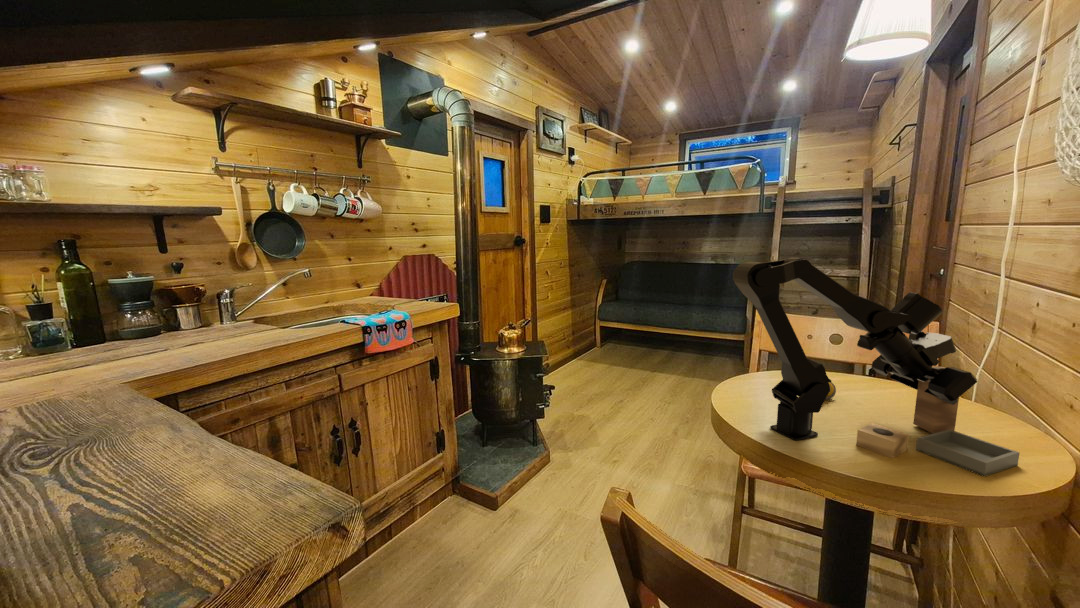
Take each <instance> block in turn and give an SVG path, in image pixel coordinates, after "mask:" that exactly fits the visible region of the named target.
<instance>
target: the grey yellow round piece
mask: <svg viewBox="0 0 1080 608" xmlns="http://www.w3.org/2000/svg"><path fill="white" fill-rule="evenodd" d="M828 383H829V385H830V392H829V393H828V396H827V397H826V399H825V401H826V400H830V399H832V398H834V396H835V395H836V393H837V388H836V385H835V384H834V383H833V381H831V382H828Z"/></svg>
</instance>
